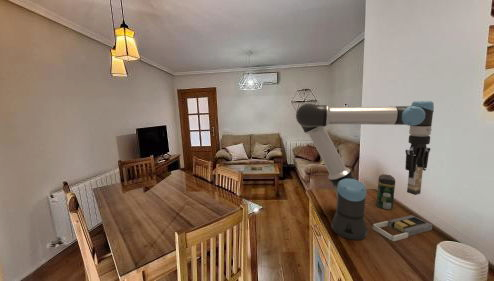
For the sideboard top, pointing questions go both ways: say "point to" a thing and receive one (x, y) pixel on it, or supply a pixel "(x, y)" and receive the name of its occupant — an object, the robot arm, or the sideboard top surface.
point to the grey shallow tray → (419, 228)
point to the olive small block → (408, 223)
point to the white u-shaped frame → (387, 235)
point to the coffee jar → (385, 191)
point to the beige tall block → (416, 182)
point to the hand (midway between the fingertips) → (414, 183)
